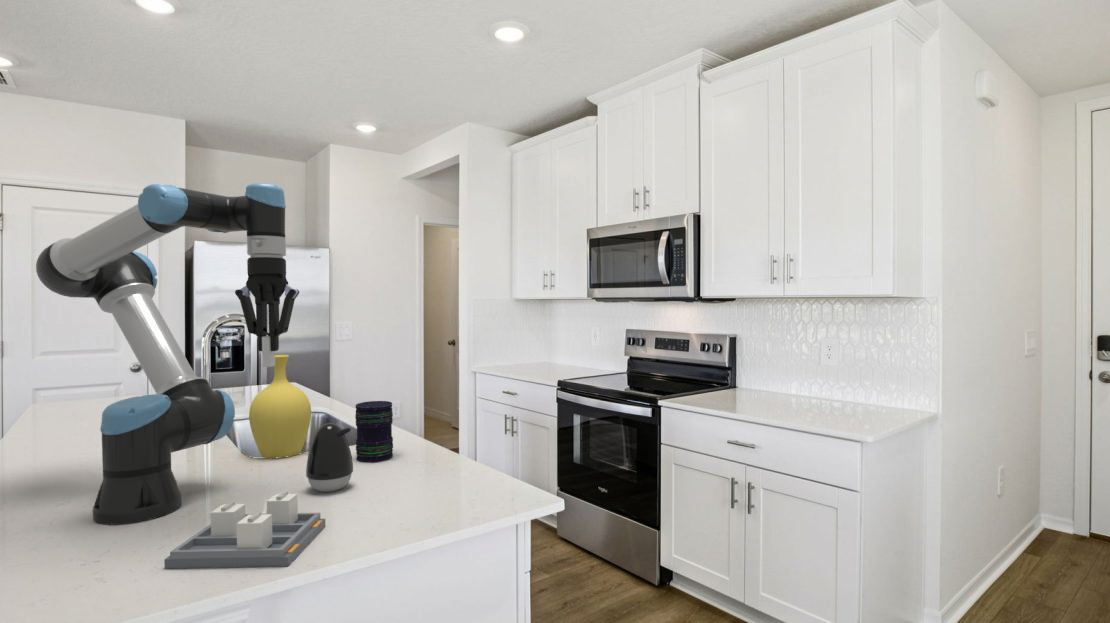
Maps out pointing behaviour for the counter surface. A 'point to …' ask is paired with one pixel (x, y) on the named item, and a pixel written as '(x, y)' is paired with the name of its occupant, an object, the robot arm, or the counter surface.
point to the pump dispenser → (329, 459)
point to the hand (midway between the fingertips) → (268, 366)
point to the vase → (280, 415)
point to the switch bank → (225, 553)
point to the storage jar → (374, 431)
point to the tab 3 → (283, 508)
